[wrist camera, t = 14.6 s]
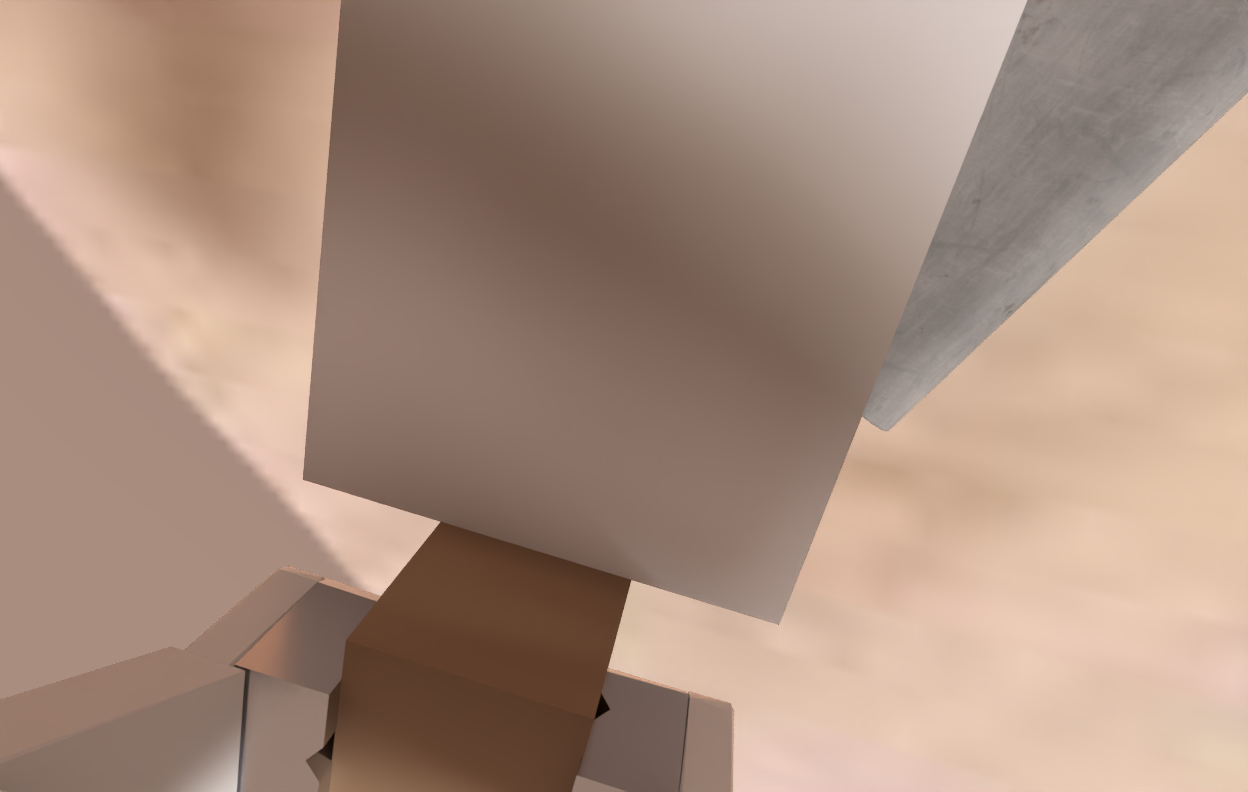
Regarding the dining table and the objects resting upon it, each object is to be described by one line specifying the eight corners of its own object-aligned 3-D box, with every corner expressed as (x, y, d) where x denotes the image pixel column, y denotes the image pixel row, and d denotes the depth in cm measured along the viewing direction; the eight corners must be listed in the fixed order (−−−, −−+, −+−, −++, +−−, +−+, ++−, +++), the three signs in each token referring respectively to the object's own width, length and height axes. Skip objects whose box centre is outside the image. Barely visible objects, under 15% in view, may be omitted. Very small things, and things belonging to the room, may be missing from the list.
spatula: (604, 1023, 13) (561, 1287, 10) (296, 915, 13) (167, 1137, 10) (1054, -151, 6) (1322, -402, 3) (422, -292, 7) (167, -626, 4)
